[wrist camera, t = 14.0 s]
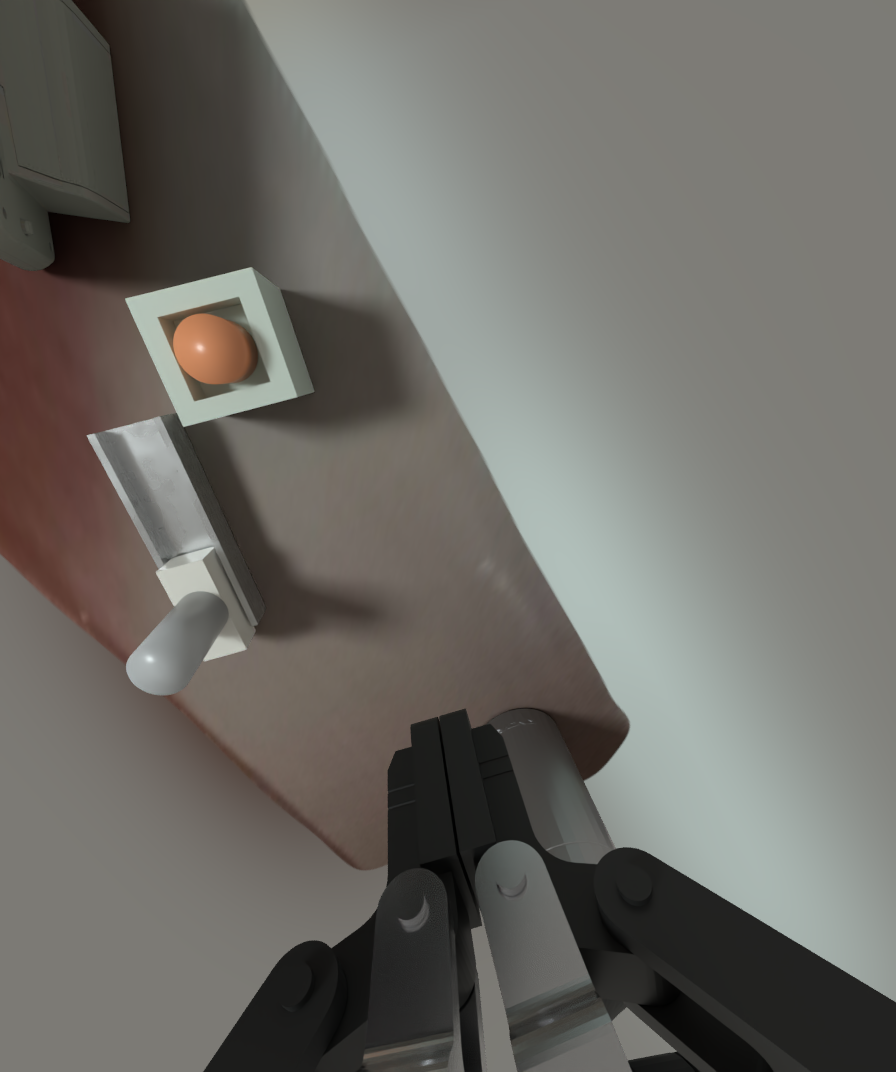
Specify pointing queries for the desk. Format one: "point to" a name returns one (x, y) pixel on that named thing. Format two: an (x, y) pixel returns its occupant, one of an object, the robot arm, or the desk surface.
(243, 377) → the button
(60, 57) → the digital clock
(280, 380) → the button housing
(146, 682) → the carriage
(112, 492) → the desk surface
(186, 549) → the rail
